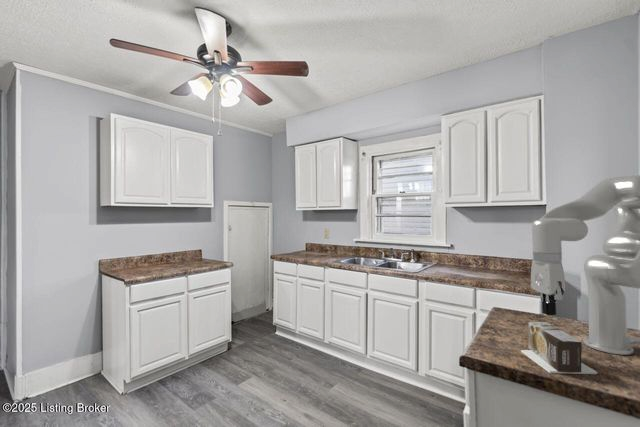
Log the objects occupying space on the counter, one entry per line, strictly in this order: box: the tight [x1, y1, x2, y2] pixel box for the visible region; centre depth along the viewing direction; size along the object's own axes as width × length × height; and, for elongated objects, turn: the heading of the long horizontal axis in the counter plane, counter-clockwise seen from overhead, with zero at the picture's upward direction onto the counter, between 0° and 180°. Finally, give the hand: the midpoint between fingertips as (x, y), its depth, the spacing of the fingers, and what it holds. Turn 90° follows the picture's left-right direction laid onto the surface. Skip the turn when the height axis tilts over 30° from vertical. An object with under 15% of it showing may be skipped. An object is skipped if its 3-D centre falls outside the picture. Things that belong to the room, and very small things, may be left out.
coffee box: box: [528, 321, 583, 373], centre depth 96 cm, size 9×6×16 cm
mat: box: [520, 349, 598, 375], centre depth 95 cm, size 13×14×1 cm
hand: (549, 314), depth 99 cm, fingers closed
